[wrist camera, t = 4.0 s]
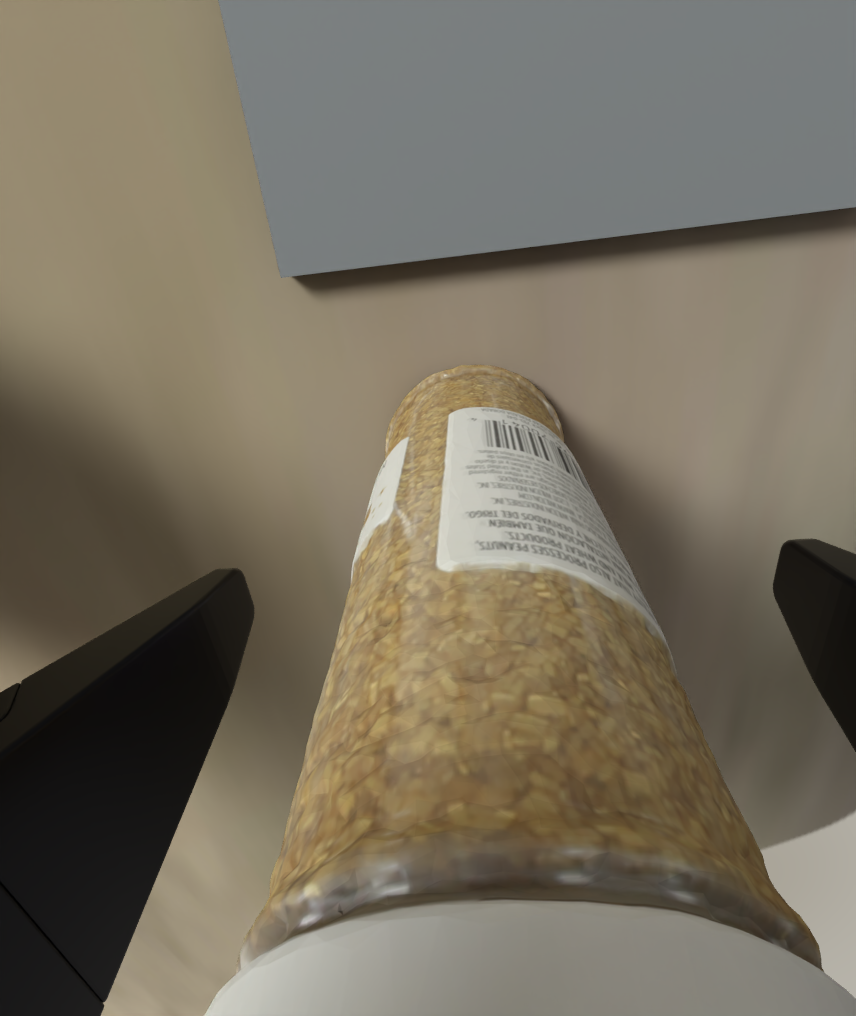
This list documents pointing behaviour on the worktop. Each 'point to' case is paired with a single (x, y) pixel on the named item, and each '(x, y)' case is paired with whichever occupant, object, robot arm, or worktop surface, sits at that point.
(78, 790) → the robot arm
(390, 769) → the sprinkles bottle
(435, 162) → the rest mat
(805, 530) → the worktop surface
